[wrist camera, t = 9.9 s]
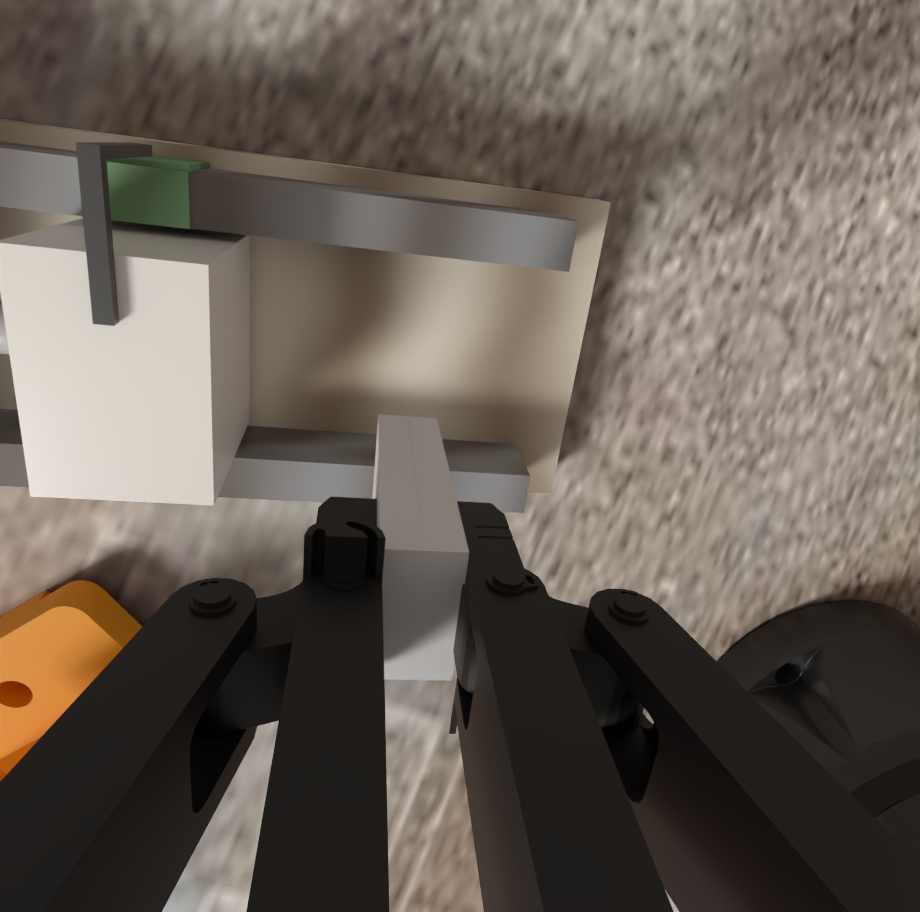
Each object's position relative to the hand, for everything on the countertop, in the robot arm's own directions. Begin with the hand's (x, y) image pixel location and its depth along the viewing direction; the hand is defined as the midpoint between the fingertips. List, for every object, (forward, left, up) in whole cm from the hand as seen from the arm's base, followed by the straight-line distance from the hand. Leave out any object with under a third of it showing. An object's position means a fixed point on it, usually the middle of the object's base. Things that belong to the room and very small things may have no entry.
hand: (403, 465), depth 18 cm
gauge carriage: (+10, -2, -9) cm, 14 cm away
